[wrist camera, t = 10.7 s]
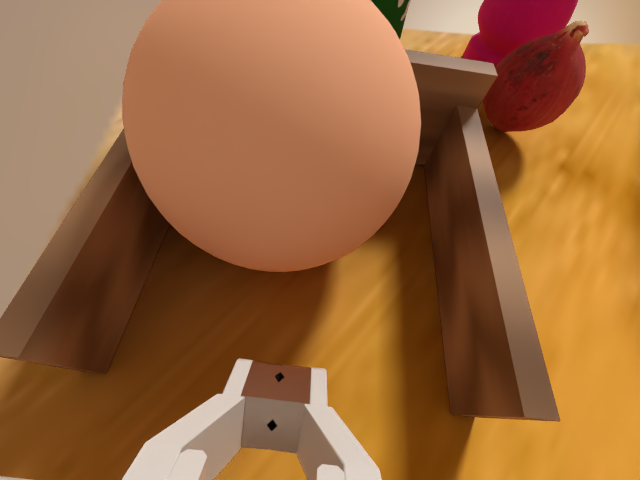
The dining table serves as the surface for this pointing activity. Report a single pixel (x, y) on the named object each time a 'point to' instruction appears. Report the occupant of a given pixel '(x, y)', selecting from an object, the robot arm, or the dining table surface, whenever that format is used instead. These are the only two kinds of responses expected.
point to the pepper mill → (515, 26)
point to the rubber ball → (272, 125)
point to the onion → (537, 80)
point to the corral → (448, 248)
